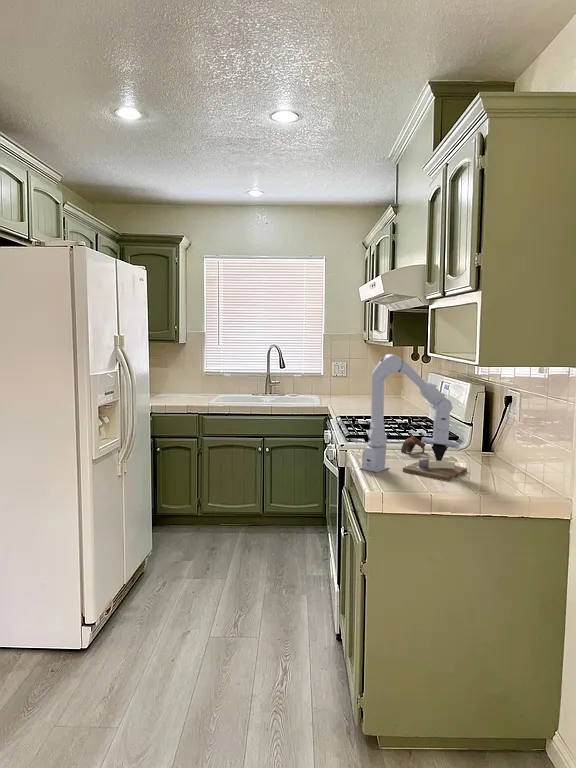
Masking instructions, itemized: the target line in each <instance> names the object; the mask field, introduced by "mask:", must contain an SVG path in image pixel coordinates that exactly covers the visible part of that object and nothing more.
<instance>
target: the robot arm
mask: <svg viewBox="0 0 576 768" xmlns="http://www.w3.org/2000/svg"><path fill="white" fill-rule="evenodd" d="M397 372H398V373H399V374H403V375H405V376H406V377H407V378H408V379H409V380H411V381H412V382H413V383H414V384H415V385H416V386H417V387H418V388H419V393H420V395H421V396H422V397H423V398H424V399H425V400H426V401H427V402H428V403H429V404H430V405H432V407H433V409H434V417H433V430H432V437H426V436H423V437H421V440H420V441H421V443H424V444H431V450H432V451H433V453H434V457H435V461H443V457H444V455H445V453H446V451H447V450H448V448H454V449H456V450H457V449H460V442H456V441H453V440H449V436H450V435H449V432H450V418H451V417H450V415H451V411H452V410H453V405H452V402H451V400H449V399H448V398H447V397H446V394H445V393H442V392H441V391H440V390H439V389H438V388H437V385H436V384H435V383H432V382H426V381H425V380H424V379H423V378H422V376H420V374H418V373H417V371H416V370H415V369H414V368H413V367H412V366H411V365H410V364H409V363H407V362H406V361H405V360H403V359H401V357H400V356H398V355H396V354H392V353H387V354H385V355H384V356H383V357H381V358H380V359H379V362H378V363H377V364H376V366H375V367H374V369H373V371H372V372H371V376H370V377H371V383H370V384H371V387H370V388H371V392H370V393H371V395H370V397H371V399H370V400H371V403H370V404H371V405H370V406H371V407H370V408H371V409H370V411H371V412H370V426H369V429H368V431H367V437H368V439H369V441H368V442H367V445H366V448H364V449H363V451H362V453H361V466H359V469H360V470H361V469H362V470H366V471H370V472H375V473H379V472H381V471H384V470H387V469H390V466H388V465H386V460H387V459H386V458H387V443H386V442H387V441H388V437H387V436H388V435H387V433H386V432H385V422H384V421H385V416H384V415H385V414H384V413H385V409H384V406H385V404H384V403H385V401H384V400H385V389H384V387H385V379H387V378H388V377H389V376H390V375H392V374H395V373H397Z"/></svg>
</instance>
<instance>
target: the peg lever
mask: <svg viewBox="0 0 576 768" xmlns="http://www.w3.org/2000/svg"><path fill="white" fill-rule="evenodd" d="M418 462H419V467H420V468H454V466H456V465H455V461H454V460H442V461H436V460H430V459H429V458H425V457H421V458H418Z"/></svg>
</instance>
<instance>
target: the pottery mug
mask: <svg viewBox="0 0 576 768" xmlns="http://www.w3.org/2000/svg"><path fill="white" fill-rule="evenodd" d="M416 446H418V447H420V449H421V450H422V451H421V454H422V455H423V454H424V452H425V450H426V449H425V446H426V443H421V440H420V439H418V438H417V437H415V436H414V435H411V436H410V437H408V438H406V439H405V440H404V442H403V443H402V445H401V448H400V449H401V450H400V452H402V453H403V454H406V452H407V453H409V454H410V453H412V452H413V450H414V448H415V447H416Z"/></svg>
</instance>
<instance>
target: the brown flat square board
mask: <svg viewBox="0 0 576 768" xmlns="http://www.w3.org/2000/svg"><path fill="white" fill-rule="evenodd" d="M402 472H403V473H407V474H413V475H417V476H422V477H427V478H430V479H435V478H437V480H440V479H442V480H441V481H445V480H447V481H446V482H450V481H451V479H452V480H453V478H454V479H456V478H457V477H460V476H462V475H464V474H466V473H468V467H463V466H459V465H454V468H420V467H419V461H417V462H414V463H412V464H409V465H406V466H404V467H402ZM455 477H456V478H455ZM449 480H450V481H449Z"/></svg>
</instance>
